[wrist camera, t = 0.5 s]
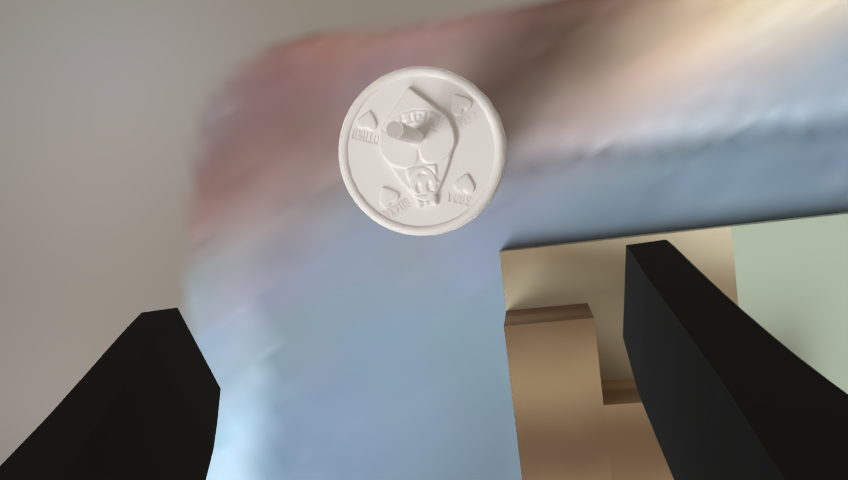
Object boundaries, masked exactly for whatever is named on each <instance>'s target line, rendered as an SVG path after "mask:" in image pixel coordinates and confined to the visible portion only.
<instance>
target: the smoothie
mask: <svg viewBox="0 0 848 480" xmlns="http://www.w3.org/2000/svg"><path fill="white" fill-rule="evenodd" d="M506 162H507V142H506V135H505V132H504V128H503V125H502V122H501V118H500V116H499V114H498V113H497V111H496V109H495V108H494V106H493V104H492V103H491V101H490V99H489V98H488V97H487V96H486V95H485V94H484V93H483V92H482V91H481V90H480V89H479V88H477V87H476V86H475V85H474V84H473V83H472V82H470V81H468V80H467V79H465V78H463V77H462V76H460V75H458V74H456V73H453V72H451V71H448V70H445V69H441V68H437V67H429V66H414V67H407V68H403V69H399V70H396V71H393V72H390V73H388V74H386V75H384V76H382V77H381V78H379V79H377V80H376V81H374V82H373V83H372V84H370V85H369V86H368V87H367V88H366V89H365V90H364V91H363V92H362V93H361V94H360V95H359V96H358V97H357V99H356V100H355V101H354V103H353V104H352V106H351V108H350V109H349V111H348V113H347V115H346V117H345V120H344V123H343V125H342V129H341V133H340V139H339V163H340V169H341V173H342V177H343V180H344V182H345V185H346V187H347V189H348V191H349V193H350V195H351V196H352V198H353V199H354V201H355V202H356V204H357V205H358V206H359V207H360V208H361V209H362V210H363V211H364V212H365V213H366V214H367V215H368V216H369V217H370V218H371V219H373V220H374V221H376V222H377V223H379V224H380V225H382V226H384V227H386V228H388V229H391V230H393V231H396V232H399V233H403V234H408V235H438V234H442V233H445V232H448V231H452V230H455V229H458V228H460V227H461V226H463V225H465V224H466V223H468V222H470V221H471V220H473V219H474V218H476V217H477V216H478V215H479V214H480V213H481V212H482V211H483V210H484V209H485V208H486V206H487V205H488V204H489V203H490V202H491V201H492V199H493V197H494V195H495V194H496V192H497V190H498V188H499V186H500V184H501V183H502V179H503V175H504V171H505V166H506Z"/></svg>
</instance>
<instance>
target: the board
mask: <svg viewBox="0 0 848 480" xmlns="http://www.w3.org/2000/svg"><path fill="white" fill-rule="evenodd" d="M659 240H667V241H669V242H670V243H671V244H673V245H674V246H675V247H676V248H677V249H678V250H679V251H680V252H681V253H682V254H683V255H684V256H685V257H686V258H687V259H688V260H689V261H690V262H691V263H692V264H693V265H694V266H695V267H697V268H698V269H699V270H700V271H701V272H702V273H703V274H704V275H705V276H706V277H707V278H708V279H709V280H710V281H711V282H712V283H713V284H715V285H716V286H717V287H718V288H719V289H720V290H721V291H722V292H723V293H724V294H725V295H726V296H728V297H729V298H730V299H731V300H732V301H733V302H734V303H735V304H736V305H738V306H739V307H740V308H741V309H742V310H743V311H744V312H746V313H747V314H748V315H749V316H750V317H751V318H753V319H754V320H755V321H756V322H757V323H758V324H760V325H761V326H762V327H763V328H764V329H765V330H767V331H768V332H769V333H770V334H771V335H772V336H774V337H775V338H776V339H777V340H778V341H780V342H781V343H782V344H783V345H785V346H786V347H787V348H788V349H789V350H791V351H792V352H793V353H794V354H796V355H797V356H798V357H799V358H801V359H802V360H803V361H805V362H806V363H807V364H808V365H810V366H811V367H812V368H814V369H815V370H816V371H818V372H819V373H820V374H821V375H823V376H824V377H825V378H827V379H828V380H829V381H831V382H832V383H833V384H835V385H836V386H837V387H839V388H840V389H842V390H843V391H844V392H846V393H847V394H848V212H843V213H834V214H825V215H816V216H807V217H798V218H789V219H779V220H770V221H761V222H752V223H743V224H734V225H725V226H716V227H706V228H697V229H688V230H679V231H670V232H661V233H652V234H642V235H633V236H624V237H615V238H606V239H597V240H588V241H579V242H569V243H560V244H551V245H542V246H533V247H524V248H515V249H506V250H500V260H501V268H502V277H503V285H504V294H505V302H506V311H508V310H519V309H529V308H540V307H550V306H561V305H571V304H582V303H588V305H589V308H590V310H591V312H592V314H593V317H594V322H595V331H596V341H597V350H598V359H599V368H600V378H601V381H611V380H624V379H634V376H633V372H632V369H631V365H630V361H629V358H628V354H627V350H626V347H625V343H624V339H623V316H624V288H625V260H626V245H630V244H637V243H644V242H652V241H659Z"/></svg>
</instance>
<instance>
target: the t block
mask: <svg viewBox="0 0 848 480" xmlns="http://www.w3.org/2000/svg"><path fill="white" fill-rule="evenodd" d="M504 331H505V339H506V348H507V356H508V364H509V373H510V381H511V390H512V398H513V406H514V415H515V423H516V432H517V440H518V448H519V457H520V465H521V473H522V480H674V479H673V476H672V474H671V471H670V469H669V467H668V464H667V462H666V459H665V457H664V455H663V452H662V450H661V447H660V445H659V443H658V440H657V438H656V435H655V433H654V430H653V428H652V426H651V423H650V421H649V418H648V416H647V413H646V411H645V408H644V406H643V403H642V401H641V398H640V396H639V393H638V390H637V386H636V383H635V379H624V380H611V381H601V378H600V368H599V359H598V350H597V341H596V331H595V322H594V317H593V314H592V312H591V310H590V308H589V305H588V303H582V304H571V305H561V306H550V307H540V308H529V309H519V310H508V311H506V317H505V323H504Z"/></svg>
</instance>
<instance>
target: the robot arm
mask: <svg viewBox="0 0 848 480" xmlns="http://www.w3.org/2000/svg"><path fill="white" fill-rule="evenodd" d="M623 339H624V343H625V347H626V350H627V354H628V358H629V361H630V365H631V369H632V372H633V376H634V379H635V383H636V386H637V390H638V393H639V396H640V398H641V401H642V403H643V406H644V408H645V411H646V413H647V416H648V418H649V421H650V423H651V426H652V428H653V430H654V433H655V435H656V438H657V440H658V443H659V445H660V447H661V450H662V452H663V455H664V457H665V459H666V462H667V464H668V467H669V469H670V471H671V474H672V476H673V479H674V480H848V394H847V393H846V392H844V391H843V390H842V389H840V388H839V387H837V386H836V385H835V384H833V383H832V382H831V381H829V380H828V379H827V378H825V377H824V376H823V375H821V374H820V373H819V372H818V371H816V370H815V369H814V368H812V367H811V366H810V365H808V364H807V363H806V362H805V361H803V360H802V359H801V358H799V357H798V356H797V355H796V354H794V353H793V352H792V351H791V350H789V349H788V348H787V347H786V346H785V345H783V344H782V343H781V342H780V341H778V340H777V339H776V338H775V337H774V336H772V335H771V334H770V333H769V332H768V331H767V330H765V329H764V328H763V327H762V326H761V325H760V324H758V323H757V322H756V321H755V320H754V319H753V318H751V317H750V316H749V315H748V314H747V313H746V312H744V311H743V310H742V309H741V308H740V307H739V306H738V305H736V304H735V303H734V302H733V301H732V300H731V299H730V298H729V297H728V296H726V295H725V294H724V293H723V292H722V291H721V290H720V289H719V288H718V287H717V286H716V285H715V284H713V283H712V282H711V281H710V280H709V279H708V278H707V277H706V276H705V275H704V274H703V273H702V272H701V271H700V270H699V269H698V268H697V267H695V266H694V265H693V264H692V263H691V262H690V261H689V260H688V259H687V258H686V257H685V256H684V255H683V254H682V253H681V252H680V251H679V250H678V249H677V248H676V247H675V246H674V245H673V244H671V243H670V242H669V241H667V240H659V241H652V242H644V243H637V244H630V245H626V260H625V288H624V316H623ZM219 399H220V387H219V385H218V383H217V381H216V379H215V378H214V376H213V374H212V372H211V370H210V368H209V366H208V364H207V363H206V361H205V359H204V357H203V355H202V353H201V351H200V349H199V347H198V346H197V344H196V342H195V340H194V338H193V336H192V334H191V332H190V331H189V329H188V327H187V325H186V323H185V321H184V319H183V317H182V315H181V314H180V312H179V310H178V308H172V309H165V310H158V311H150V312H143V313H141V314H140V315H139V316H138V317H137V318H136V319H135V320H134V321H133V322H132V323H131V324H130V326H128V327H127V329H126V330H125V331H124V332H123V333H122V334H121V335H120V336H119V337H118V339H117V340H116V341H115V342H114V343H113V344H112V345H111V346H110V347H109V349H108V350H107V351H106V352H105V353H104V354H103V355H102V357H101V358H100V359H99V360H98V361H97V362H96V363H95V365H94V366H93V367H92V368H91V369H90V370H89V371H88V373H87V374H86V375H85V376H84V377H83V378H82V379H81V381H79V383H78V384H77V385H76V386H75V387H74V388H73V389H72V390H71V391H70V393H69V394H68V395H67V396H66V397H65V398H64V399H63V400H62V402H61V403H60V404H59V405H58V406H57V407H56V408H55V409H54V410H53V411H52V413H51V414H50V415H49V416H48V417H47V418H46V419H45V420H44V421H43V422H42V423H41V424H40V425H39V426H38V427H37V429H36V430H35V431H34V432H33V433H32V434H31V435H30V436H29V437H28V438H27V439H26V440H25V441H24V442H23V443H22V444H21V445H20V446H19V447H18V448H17V449H16V450H15V452H13V453H12V454H11V456H10V457H9V458H8V459H7V460H6V461H5V462H4V463H3V464H2V465H1V466H0V480H206V477H207V473H208V469H209V465H210V461H211V456H212V452H213V448H214V441H215V434H216V427H217V419H218V409H219Z"/></svg>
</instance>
